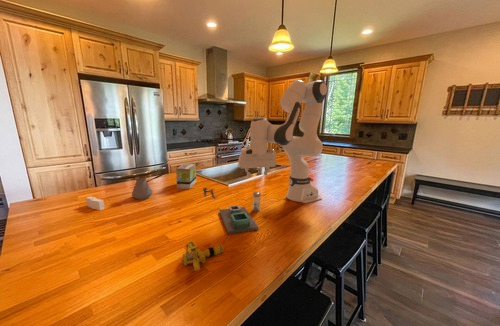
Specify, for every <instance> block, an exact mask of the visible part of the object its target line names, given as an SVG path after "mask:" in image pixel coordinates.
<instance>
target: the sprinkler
mask: <svg viewBox="0 0 500 326" xmlns="http://www.w3.org/2000/svg"><path fill="white" fill-rule="evenodd" d="M186 244H187V246H188V247H187V249H186V250H187V253H183V254H182V259H181V262H182V263H183V265H184V266H185V267H186V266H188V264H189V265H190V264H192V265H193V268H194V269H193V270H194V271H195V272H196V271H200V269H201V265H200V262H201V263H202V264H204V263H206V261H207V260H206V258H207V257H208V258H209V257H210V258H211V257H214V256H218V255H220V254H221V253H223V252H224V246H223V245H216V246H215V245H214V246H211V247H208V248H206V249H204V251H203V250H201V248H199V246H198V245H197V244H196V243H195V241H193V240H192V241H191V240H190V241H187V242H186Z"/></svg>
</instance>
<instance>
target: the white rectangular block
mask: <svg viewBox="0 0 500 326" xmlns="http://www.w3.org/2000/svg"><path fill="white" fill-rule="evenodd" d="M85 201H86V207H89V208H90V209H94V210H97V211H102V210H104V209H105V203H104V202H105V201H104V199H100V198H97V197H95V196H87V197H86V198H85Z"/></svg>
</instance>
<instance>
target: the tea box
mask: <svg viewBox="0 0 500 326" xmlns="http://www.w3.org/2000/svg"><path fill="white" fill-rule="evenodd" d="M175 171H176V189H180V190H181V189H182V190H185V189H187V190H188V189H189V190H190V189H191V188H192V187H194V185H196V183H197V165H196V164H194V163H193V164H192V163H190V164H188V163H183V164H181V165H179V166H178V167H176V169H175Z"/></svg>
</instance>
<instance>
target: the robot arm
mask: <svg viewBox="0 0 500 326" xmlns="http://www.w3.org/2000/svg"><path fill="white" fill-rule="evenodd" d="M327 94H328V85H327V82H325V81H323V80H316V81H310V82H306V83H305V82H304V81H303V80H300V79H296V80H294V81H293V82H291V84H289V86H288V87H287V88H286V90H285V91H284V92H283V94H282V96H281V98H280V100H279V101H280V102H279V103H280V106H281V107H280V108H282V110H283V111H284V112H286V113H288V115H287V118H286V120H285V122H284V123H282V124H272V123H271V122H269V120H268V119H267V118H266V117H256V118H253V119H252V120H251V123H250V127H249V137H250V141H249V145H248V146H244V147H243V148H242V147H241V149H240V153H239V157H238V160H237V161H238V162H237V163H238V164H237V165H238V168H240V169H244V171H245V172H246V176H247V177H251V176H252V175H251V174H252V173H251V172H249V170H250V169H259V168H265V171H263V176H268V172H269V171H270V169H271V168H276V166H277V151H276V150H275V149H268V148H267V147H268V143H271V144H277V145H280V146H281V148H282V150H283V151H284V152H285V153H286V155H287V157H288V159H289V164H290V174H289V178H288V179H289V180H288V184H289V186H288V190H287V193H286V195H285V196H286V198H287V199H288V200H289V201H293V202H299V203H303V204H308V203H311V202H316V201H320V200H322V199H323V197H322V196H321V194H319V190H318V188H317V187H316V186H315V185H314V184H313V183H312V182H314V180H315V179H314V178H313V177H309V171H310V165H309V163H308V162H307V161H306V160H305V159H304V156H305V157H318V156H319V155H320V154H321V153H322V152H323V149H324V145H323V143H322V141H321V140H320V138H319V136H318V133H317V132H318V127H319V122H320V119H321V116H322V111H323V104H322V103H323V102H324V100H325V98H326V97H327ZM303 103H305V107H304V108H303V111H302V105H301V104H303ZM301 113H302V114H301ZM300 116H301V117H300ZM299 119H300V120H299ZM298 121H299V123H298ZM297 124H298V128H299V130H300V132H302V133H303V136H297V135H296V136H295V135H294V132H295V129H296V126H297Z"/></svg>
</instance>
